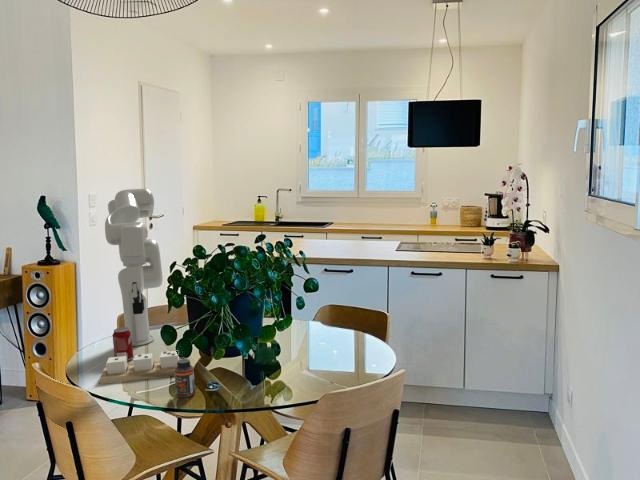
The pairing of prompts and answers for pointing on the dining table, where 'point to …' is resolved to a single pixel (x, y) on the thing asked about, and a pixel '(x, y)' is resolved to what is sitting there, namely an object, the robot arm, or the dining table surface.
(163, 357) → the tile
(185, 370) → the supplement bottle
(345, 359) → the dining table surface
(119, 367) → the tile
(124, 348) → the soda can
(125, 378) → the board
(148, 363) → the tile
